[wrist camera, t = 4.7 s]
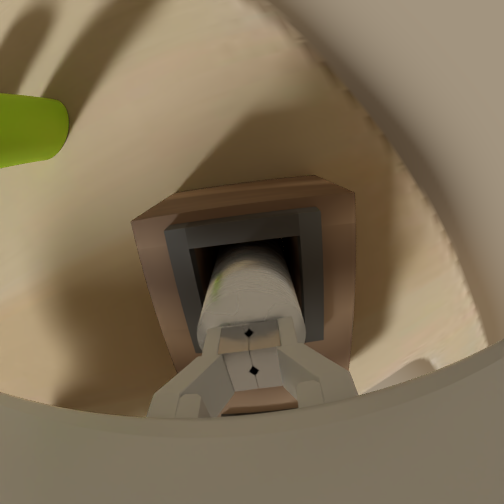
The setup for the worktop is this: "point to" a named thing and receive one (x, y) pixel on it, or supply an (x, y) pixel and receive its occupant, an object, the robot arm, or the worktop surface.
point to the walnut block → (244, 230)
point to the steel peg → (250, 288)
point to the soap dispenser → (30, 129)
